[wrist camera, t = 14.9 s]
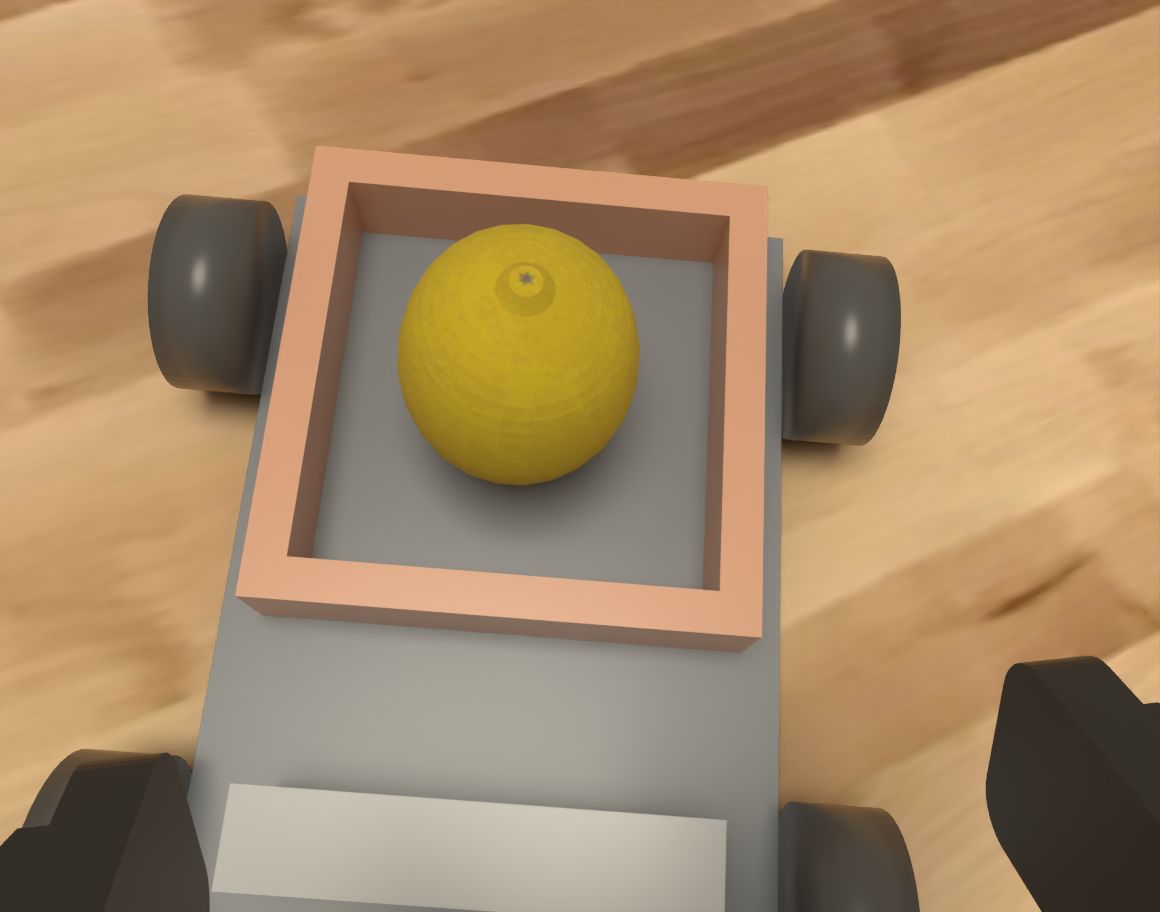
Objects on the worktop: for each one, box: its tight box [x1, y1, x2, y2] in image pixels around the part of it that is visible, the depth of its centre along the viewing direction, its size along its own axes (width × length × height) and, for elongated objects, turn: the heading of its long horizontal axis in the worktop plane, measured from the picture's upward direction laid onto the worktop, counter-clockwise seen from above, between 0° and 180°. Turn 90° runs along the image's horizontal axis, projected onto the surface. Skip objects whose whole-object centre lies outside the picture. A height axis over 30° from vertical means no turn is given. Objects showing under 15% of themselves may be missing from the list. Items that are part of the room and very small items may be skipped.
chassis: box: [22, 146, 920, 912], centre depth 25 cm, size 18×22×5 cm
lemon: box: [397, 224, 640, 485], centre depth 24 cm, size 6×6×8 cm
